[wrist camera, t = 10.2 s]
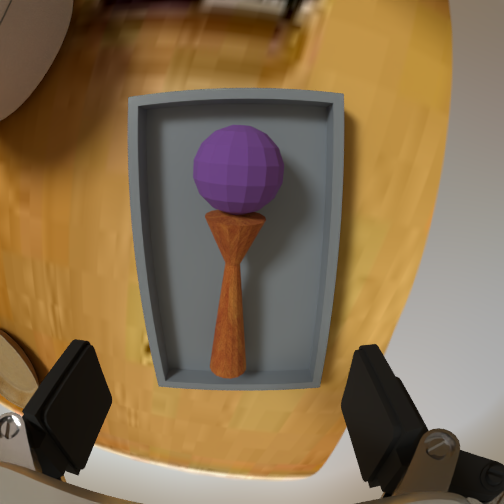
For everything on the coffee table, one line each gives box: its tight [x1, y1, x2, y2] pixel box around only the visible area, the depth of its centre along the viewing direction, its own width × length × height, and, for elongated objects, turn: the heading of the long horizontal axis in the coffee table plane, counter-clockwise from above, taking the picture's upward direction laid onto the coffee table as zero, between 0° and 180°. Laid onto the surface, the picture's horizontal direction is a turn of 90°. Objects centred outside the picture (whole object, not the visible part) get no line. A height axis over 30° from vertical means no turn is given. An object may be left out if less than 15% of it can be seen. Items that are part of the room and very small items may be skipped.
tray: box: [128, 88, 344, 390], centre depth 24 cm, size 26×16×3 cm, turn 0°
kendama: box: [193, 125, 284, 379], centre depth 22 cm, size 6×6×20 cm
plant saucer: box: [0, 330, 39, 408], centre depth 28 cm, size 15×15×3 cm
